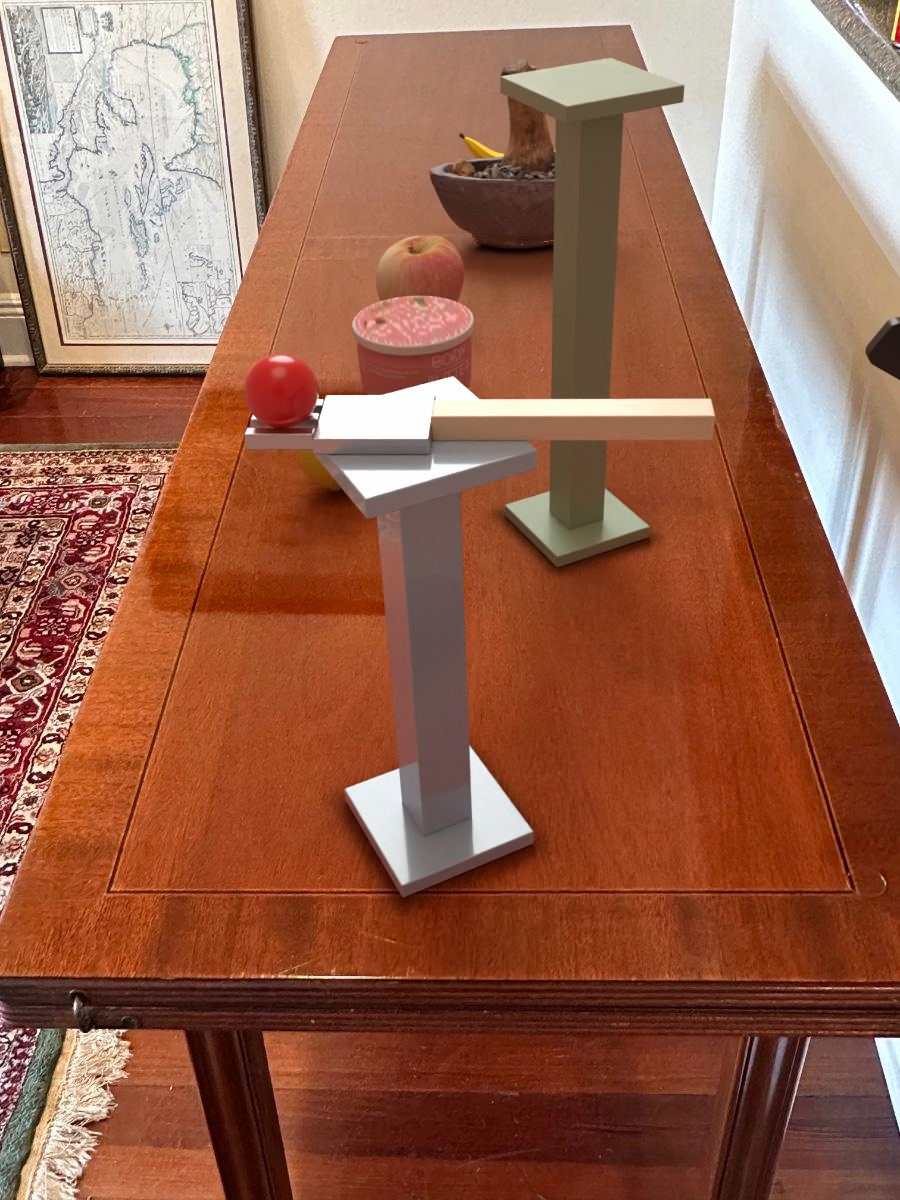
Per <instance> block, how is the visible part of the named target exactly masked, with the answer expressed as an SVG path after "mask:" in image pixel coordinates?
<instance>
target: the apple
mask: <svg viewBox="0 0 900 1200" xmlns="http://www.w3.org/2000/svg"><path fill="white" fill-rule="evenodd" d="M375 279H376V280H375V284H376V291H377V292H376V293H377V296H378V299H379V302H380V301H383V300H387V299H392V298H397V297H405V296H433V297H441V298H445V299H450V300H453V301H456V302H459V299H460V296H461V293H462V289H463V285H464V279H465V268H464V262H463V259H462V256H461V254H460V252H459V251H458V249H457V247H456V246H455V245H454V244H453V243H452V242H450V241H449V240H448V239H447V238H445V237H442V236H439V235H413V236H409V237H405V238H402V239H401V240H398V241H397V242H395V243H393V244H392V245H390V246H389V247H388V248H387V250H386V251H385V252H384V254H383V255H382V256H381V258H380V260H379V262H378V265H377V268H376V274H375Z"/></svg>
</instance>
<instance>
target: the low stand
mask: <svg viewBox="0 0 900 1200" xmlns="http://www.w3.org/2000/svg"><path fill="white" fill-rule="evenodd" d="M383 395H435V396H436V400H440V399H480V398H479V397H478V396H477V395H475V394H474V392H473V391H471V390H470V389H469V388H468V389H467V388H466V387H465V386H464V385H463V384H462V383H461V382H460V381H458V380H457V379H456V378H455V377H449V378H445V379H441V380H437V381H433V382H430V383H426V384H422V385H418V386H414V387H410V388H406V389H403V390H399V391H395V392H391V393H387V394H383ZM311 451H312V453H313V454H314V450H311ZM314 455H315V456H316V457H317V459H318V460H319V461H320V462H321V464H322V465H323V466H324V467H325V468H326V470H327V471H328V472H329V473H330V475H331V476H332V477H333V478H334V479H335V481H336V482H337V483H338V484H339V485H340V487H341V488H340V489H342V490H343V492H344V493H345V494H346V495H347V497H348V498H349V499H350V500H351V502H352V503H353V504H354V505H355V506H356V508H357V509H358V510H359V511H360V512H361V514H362V515H363V516H364V518H365V519H366V520H370V519H373V518H376V524H377V531H378V532H377V535H378V545H379V556H380V568H381V580H382V591H383V601H384V602H383V605H384V615H385V624H386V637H387V647H388V649H387V650H388V660H389V671H390V681H391V693H392V694H391V695H392V703H393V704H392V705H393V706H392V707H393V717H394V725H395V726H394V727H395V740H396V750H397V762H398V768H395V769H393V770H390V771H388V772H385V773H382V774H379V775H377V776H374V777H372V778H369V779H367V780H364V781H361V782H359V783H356V784H353V785H351V786H348V787H344V789H343V790H344V799H345V803H346V804H347V805H348V807H349V809H350V810H351V812H352V814H353V816H354V817H355V819H356V821H357V823H358V824H359V826H360V828H361V829H362V831H363V833H364V834H365V836H366V838H367V839H368V842H369V843H370V845H371V846H372V848H373V850H374V851H375V853H376V855H377V857H378V859H379V860H380V862H381V864H382V865H383V867H384V868H385V870H386V873H387V874H388V875H389V877H390V880H391V881H392V883H393V884H394V886H395V888H396V889H397V891H398V892H399V895H400V896H401V898H406V897H408V896H411V895H413V894H416V893H418V892H420V891H423V890H425V889H428V888H431V887H433V886H436V885H437V884H440V883H443V882H445V881H448V880H449V879H452V878H454V877H457V876H459V875H461V874H464V873H466V872H469V871H471V870H473V869H476V868H479V867H481V866H483V865H485V864H489V863H490V862H492V861H494V860H498V859H501V858H502V857H504V856H506V855H510V854H511V853H512V854H513V853H514V852H517V851H519V850H521V849H524V848H526V847H528V846H531V845H533V844H534V841H535V837H534V836H535V831H534V830H533V828H532V827H531V826H530V824H528V823H529V822H527V821H526V819H525V817H523V815H522V814H521V812H520V811H519V810H518V809H517V807H516V806H515V804H514V803H513V802H512V801H511V799H510V797H509V796H508V795H507V794H506V792H505V790H504V789H503V788H502V787H501V785H500V783H498V782H497V780H496V779H495V777H494V776H493V775H492V773H491V771H490V770H489V769H488V768H487V766H486V765H485V764H484V763H483V761H482V760H481V758H480V757H479V756H478V754H477V753H476V752H475V750H474V749H473V748H472V745H470V724H469V697H468V692H469V691H468V669H467V668H468V667H467V665H468V664H467V643H466V642H467V639H466V614H465V611H466V610H465V589H464V588H465V587H464V584H465V583H464V561H463V557H464V556H463V536H462V535H463V533H462V508H461V507H462V505H461V504H462V503H461V492H464V491H467V490H471V489H475V488H477V487H480V486H485V485H489V484H492V483H495V482H498V481H501V480H504V479H508V478H511V477H515V476H519V475H522V474H525V473H528V472H531V471H535V470H537V468H538V450H537V448H535V447H534V446H533V445H532V444H531V443H530V442H529V440H453V441H434V440H433V439H432V443H431V449H430V454H314Z"/></svg>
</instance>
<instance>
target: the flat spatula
mask: <svg viewBox="0 0 900 1200" xmlns="http://www.w3.org/2000/svg"><path fill="white" fill-rule="evenodd" d="M319 390H320V389H319V383H318V380H317V377H316V375H315V373H314V371H313V370H312V368H311V367H310V366H309V365H308V364H307V363H306V361H305V362H304V361H303V359H301V358H299V357H296V356H295V355H291V354H288V353H273V354H270V355H267V356H264V357H263V358H260V359H259V360H257V362H255V363H254V364H253V366H252V367H251V368H250V369H249V371H248V373H247V375H246V377H245V380H244V384H243V395H244V396H243V397H244V401H245V404H246V406H247V409H248V410H249V412H250V413H251V417H250V427H247V428H246V429H245V432H244V442H245V447H246V450H247V451H296V450H314V454H430V449H431V443H432V439H433V440H434V441H453V440H526V441H550V440H607V441H713V440H714V434H715V433H714V432H715V424H716V413H715V410H714V405H713V399H712V398H609V399H551V398H508V399H507V398H497V399H496V398H494V399H492V398H491V399H489V398H486V399H485V398H483V399H481V398H479V399H440V400H436V396H435V395H367V394H365V395H363V394H360V395H359V394H356V395H355V394H353V395H351V394H349V395H348V394H347V395H341V394H339V395H337V394H336V395H333V394H332V395H331V394H330V395H329V394H328V395H325V396H324V399H323V398H322V399H320V398H319V393H320V391H319Z"/></svg>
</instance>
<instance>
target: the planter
mask: <svg viewBox="0 0 900 1200" xmlns="http://www.w3.org/2000/svg"><path fill="white" fill-rule="evenodd" d="M536 70H537V68H536V66H535V65H534V64H531V63H530V62H529V61H528V59H526V58H516V59H513V60H512V61H510V62H508V63H506V64H505V66H504V67H503V68H502V70H501V71H500V77H501V76H506V75H512V74H518V73H524V72H530V71H536ZM506 98H507V105H508V113H509V135H508V136H509V137H508V143H507V146H506V150H505V152H504V153H503V154H504V156H502V157H494V158H484V159H476V158H472V159H466V160H464V159H463V160H462V159H461V160H459V161H456V162H448V163H443V164H439V165H436V166H433V167H432V168H430V169H429V178H430V181H431V185H432V186H433V189H434V192H435V193H436V195H437V198H438V200H439V202H440V204H441V206H442V208H443V209H444V211H445V212H446V215H447V216H448V217H449V219H450V220H451V221H452V222H453V223H454V225H456V226H457V227H458V228H459V229H461V230H463V231H465V232H467V233H470V234H471V237H472V239H473V238H475V239H473V240H474V242H475V243H476V244H477V245H481V246H487V247H492V248H499V249H500V248H501V249H507V250H509V249H512V250H514V249H517V250H518V249H519V250H520V249H532V248H542V247H550V246H554V241H550V240H554V193H555V151H554V149H555V147H554V145H553V141H552V137H551V134H550V133H551V132H550V129H549V124H548V121H547V117H546V114H545V113H542V112H540V111H538V110H536V109H534V108H532V107H530V106H527V105H525V104H523V103H521V102H519V101H517V100H515V99H512V98H510V97H508V96H506ZM477 240H478V241H477ZM544 241H549V242H544ZM485 242H486V243H485ZM542 242H543V243H542ZM521 244H523V245H521Z"/></svg>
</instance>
